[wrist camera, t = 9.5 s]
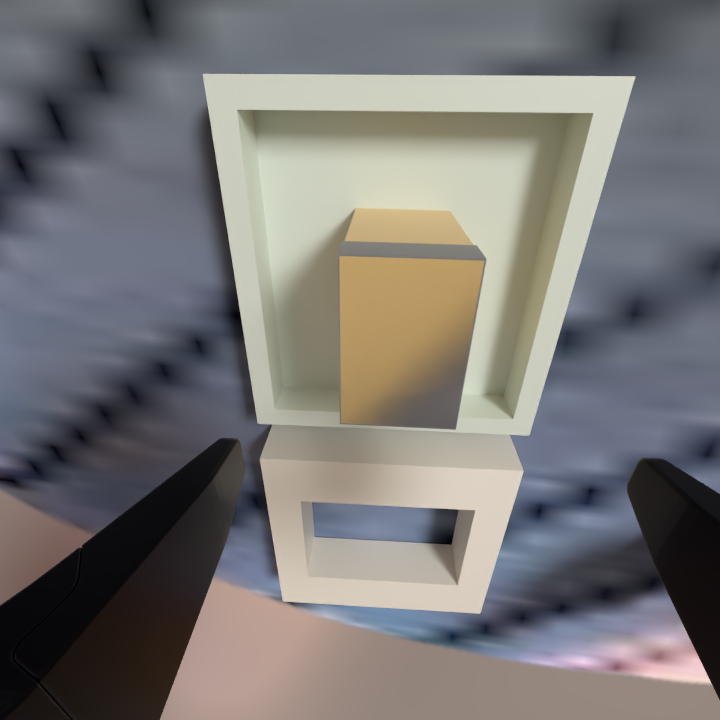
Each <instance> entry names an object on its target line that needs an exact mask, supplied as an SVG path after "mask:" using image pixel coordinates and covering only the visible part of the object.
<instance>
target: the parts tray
mask: <svg viewBox="0 0 720 720" xmlns="http://www.w3.org/2000/svg"><path fill="white" fill-rule="evenodd" d="M203 78H204V85H205V91H206V98H207V104H208V110H209V117H210V123H211V129H212V136H213V142H214V149H215V155H216V161H217V168H218V174H219V180H220V187H221V193H222V200H223V206H224V212H225V219H226V225H227V231H228V238H229V244H230V251H231V257H232V263H233V270H234V276H235V282H236V289H237V295H238V301H239V308H240V314H241V321H242V327H243V333H244V340H245V346H246V352H247V359H248V365H249V372H250V378H251V384H252V391H253V397H254V403H255V410H256V416H257V423H258V424H274V425H297V426H320V427H343V428H366V429H389V430H412V431H435V432H458V433H481V434H504V435H527V436H529V435H530V431H531V428H532V425H533V421H534V418H535V415H536V411H537V408H538V404H539V401H540V398H541V394H542V391H543V388H544V384H545V381H546V377H547V374H548V371H549V367H550V364H551V360H552V357H553V354H554V350H555V347H556V344H557V340H558V337H559V333H560V330H561V327H562V323H563V320H564V316H565V313H566V310H567V306H568V303H569V300H570V296H571V293H572V289H573V286H574V283H575V279H576V276H577V272H578V269H579V266H580V262H581V259H582V256H583V252H584V249H585V245H586V242H587V239H588V235H589V232H590V228H591V225H592V222H593V218H594V215H595V212H596V208H597V205H598V201H599V198H600V195H601V191H602V188H603V184H604V181H605V178H606V174H607V171H608V168H609V164H610V161H611V157H612V154H613V151H614V147H615V144H616V140H617V137H618V134H619V130H620V127H621V124H622V120H623V117H624V113H625V110H626V107H627V103H628V100H629V96H630V93H631V90H632V86H633V83H634V80H635V76H474V75H299V74H203ZM356 208H376V209H412V210H448V211H451V213H452V214H453V216H454V217H455V219H456V220H457V221H458V223H459V224H460V226H461V227H462V229H463V230H464V232H465V233H466V235H467V236H468V237H469V239H470V240H471V242H472V243H473V245H477V246H478V248H479V249H480V250H481V252H482V253H483V255H484V256H485V257H486V259H487V260H486V265H485V271H484V276H483V282H482V287H481V293H480V298H479V304H478V310H477V315H476V321H475V326H474V332H473V337H472V343H471V348H470V354H469V359H468V365H467V371H466V376H465V382H464V387H463V393H462V398H461V404H460V409H459V415H458V420H457V426H456V430H450V429H430V428H409V427H389V426H368V425H348V424H340V400H339V320H338V252H339V249H340V246H341V243H342V241H345V238H346V235H347V232H348V229H349V226H350V223H351V220H352V218H353V215H354V212H355V209H356Z"/></svg>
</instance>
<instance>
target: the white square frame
mask: <svg viewBox="0 0 720 720" xmlns="http://www.w3.org/2000/svg"><path fill="white" fill-rule="evenodd" d="M260 464H261V470H262V476H263V482H264V488H265V494H266V500H267V507H268V513H269V519H270V525H271V531H272V537H273V543H274V550H275V556H276V562H277V568H278V574H279V580H280V586H281V592H282V599H283V601H286V602H302V603H318V604H334V605H350V606H366V607H382V608H398V609H414V610H430V611H446V612H462V613H478V614H480V613H481V610H482V606H483V603H484V600H485V596H486V593H487V590H488V587H489V583H490V580H491V577H492V573H493V570H494V567H495V563H496V560H497V557H498V554H499V550H500V547H501V544H502V540H503V537H504V534H505V531H506V527H507V524H508V521H509V517H510V514H511V511H512V508H513V504H514V501H515V498H516V494H517V491H518V488H519V485H520V481H521V478H522V475H523V468H522V466H521V463H520V461H519V458H518V455H517V453H516V450H515V448H514V445H513V443H512V440H511V437H510V435H504V434H481V433H458V432H435V431H412V430H389V429H366V428H343V427H320V426H297V425H274V424H272V427H271V429H270V432H269V435H268V438H267V440H266V443H265V446H264V448H263V451H262V454H261V456H260ZM312 502H324V503H343V504H362V505H382V506H401V507H420V508H440V509H459V510H458V515H457V520H456V525H455V530H454V534H453V539H452V544H451V545H449V544H431V543H413V542H395V541H377V540H359V539H341V538H323V537H315V534H314V521H313V508H312Z"/></svg>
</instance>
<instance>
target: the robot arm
mask: <svg viewBox="0 0 720 720" xmlns="http://www.w3.org/2000/svg"><path fill="white" fill-rule="evenodd" d="M244 468H245V467H244V460H243V454H242V449H241V444H240V441H239V440H238V439H234V438H221V439H219V440H217V441H216V442H215V443H214V444H212V445H211V446H210V447H208V448H207V449H206V450H205V451H203V452H202V453H201V454H199V455H198V456H197V457H195V458H194V459H193V460H192V461H190V462H189V463H188V464H186V465H185V466H184V467H183V468H181V469H180V470H179V471H177V472H176V473H175V474H174V475H172V476H171V477H170V478H168V479H167V480H166V481H164V482H163V483H162V484H161V485H159V486H158V487H157V488H155V489H154V490H153V491H152V492H150V493H149V494H148V495H146V496H145V497H144V498H143V499H141V500H140V501H139V502H137V503H136V504H135V505H133V506H132V507H131V508H130V509H128V510H127V511H126V512H124V513H123V514H122V515H121V516H119V517H118V518H117V519H115V520H114V521H113V522H112V523H110V524H109V525H108V526H106V527H105V528H104V529H102V530H101V531H100V532H99V533H97V534H96V535H95V536H93V537H92V538H91V539H90V540H88V541H87V542H86V543H84V544H83V545H82V548H78V549H76V550H75V551H74V552H73V553H71V554H70V555H69V556H67V557H66V558H65V559H64V560H62V561H61V562H60V563H58V564H57V565H56V566H54V567H53V568H52V569H50V570H49V571H48V572H46V573H45V574H44V575H42V576H41V577H40V578H38V579H37V580H36V581H34V582H33V583H32V584H30V585H29V586H28V587H26V588H24V589H23V590H22V591H20V592H19V593H17V594H16V595H15V596H13V597H12V598H10V599H9V600H7V601H6V602H5V603H3V604H2V605H0V720H160V717H161V714H162V712H163V709H164V706H165V704H166V701H167V699H168V696H169V693H170V690H171V688H172V685H173V683H174V680H175V677H176V675H177V672H178V669H179V666H180V664H181V661H182V659H183V656H184V653H185V650H186V648H187V645H188V643H189V640H190V637H191V635H192V632H193V629H194V626H195V624H196V621H197V618H198V616H199V613H200V610H201V608H202V605H203V602H204V600H205V597H206V594H207V592H208V589H209V586H210V584H211V581H212V578H213V576H214V573H215V570H216V568H217V565H218V562H219V560H220V557H221V554H222V552H223V549H224V546H225V543H226V541H227V538H228V534H229V531H230V527H231V523H232V519H233V515H234V511H235V507H236V503H237V499H238V495H239V491H240V488H241V484H242V480H243V476H244ZM627 492H628V496H629V499H630V502H631V504H632V507H633V510H634V512H635V515H636V518H637V521H638V523H639V526H640V529H641V532H642V534H643V537H644V540H645V542H646V545H647V548H648V551H649V553H650V556H651V558H652V560H653V563H654V565H655V567H656V569H657V572H658V574H659V576H660V578H661V580H662V582H663V584H664V586H665V588H666V590H667V592H668V594H669V596H670V598H671V601H672V603H673V605H674V607H675V609H676V611H677V613H678V615H679V617H680V619H681V621H682V623H683V625H684V627H685V629H686V631H687V634H688V636H689V638H690V640H691V642H692V644H693V646H694V648H695V650H696V652H697V654H698V656H699V658H700V660H701V662H702V664H703V667H704V669H705V671H706V673H707V675H708V677H709V679H710V681H711V683H712V685H713V687H714V689H715V691H716V693H717V695H718V697H719V700H720V494H719V493H717V492H716V491H714V490H712V489H711V488H709V487H708V486H706V485H704V484H703V483H701V482H700V481H698V480H696V479H695V478H693V477H691V476H690V475H688V474H687V473H685V472H683V471H682V470H680V469H679V468H677V467H675V466H674V465H672V464H671V463H669V462H667V461H666V460H663V459H659V458H642V459H641V460H640V461H639V462H638V463H637V465H636V467H635V469H634V472H633V474H632V476H631V478H630V480H629V482H628V485H627Z"/></svg>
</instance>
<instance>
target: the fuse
mask: <svg viewBox="0 0 720 720" xmlns="http://www.w3.org/2000/svg"><path fill="white" fill-rule="evenodd" d="M486 260H487V259H486V257H485V256H484V255H483V253H482V252H481V250H480V249H479V248H478V246H477V245H473V243H472V242H471V240H470V239H469V237H468V236H467V235H466V233H465V232H464V230H463V229H462V227H461V226H460V224H459V223H458V221H457V220H456V219H455V217H454V216H453V214H452V213H451V211H448V210H412V209H376V208H356V209H355V212H354V215H353V218H352V220H351V223H350V226H349V229H348V232H347V235H346V238H345V241H342V243H341V246H340V249H339V252H338V320H339V400H340V424H348V425H368V426H389V427H409V428H430V429H450V430H456V426H457V420H458V415H459V409H460V404H461V398H462V393H463V387H464V382H465V376H466V371H467V365H468V359H469V354H470V348H471V343H472V337H473V332H474V326H475V321H476V315H477V310H478V304H479V298H480V293H481V287H482V282H483V276H484V271H485V265H486Z"/></svg>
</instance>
